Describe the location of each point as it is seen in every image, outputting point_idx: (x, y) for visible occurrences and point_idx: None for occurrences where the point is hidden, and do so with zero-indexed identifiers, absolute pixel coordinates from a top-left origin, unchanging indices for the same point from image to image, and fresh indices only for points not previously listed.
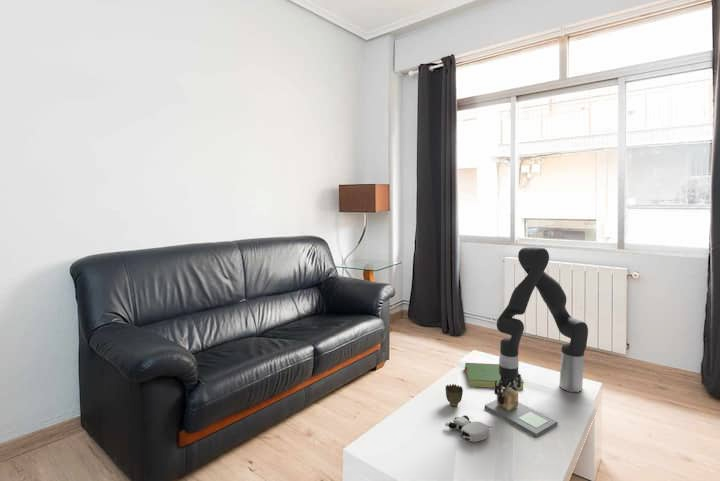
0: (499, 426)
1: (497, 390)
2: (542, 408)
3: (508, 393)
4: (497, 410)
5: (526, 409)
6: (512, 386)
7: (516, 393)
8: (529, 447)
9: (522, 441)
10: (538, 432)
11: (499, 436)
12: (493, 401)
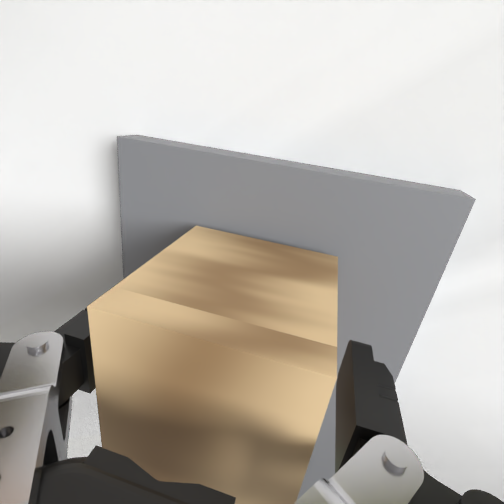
0: (66, 312)
1: (93, 308)
2: (482, 463)
3: (142, 445)
4: (141, 262)
5: (326, 415)
6: (367, 479)
7: (246, 501)
8: (68, 444)
9: (73, 419)
10: None
11: (11, 339)
12: (240, 163)
